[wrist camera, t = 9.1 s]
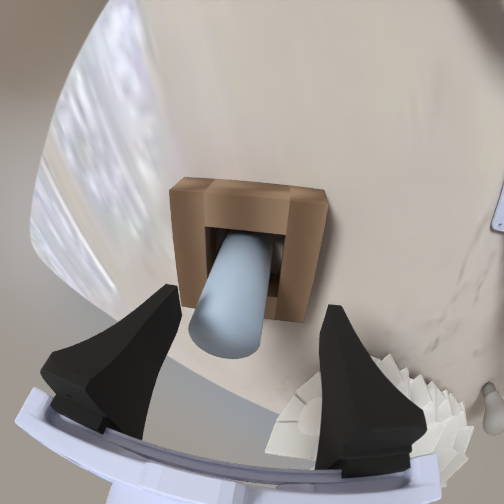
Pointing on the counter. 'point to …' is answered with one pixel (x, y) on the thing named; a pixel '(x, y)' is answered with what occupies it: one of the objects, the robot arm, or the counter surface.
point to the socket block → (250, 219)
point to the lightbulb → (493, 411)
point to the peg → (234, 296)
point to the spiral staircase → (424, 396)
